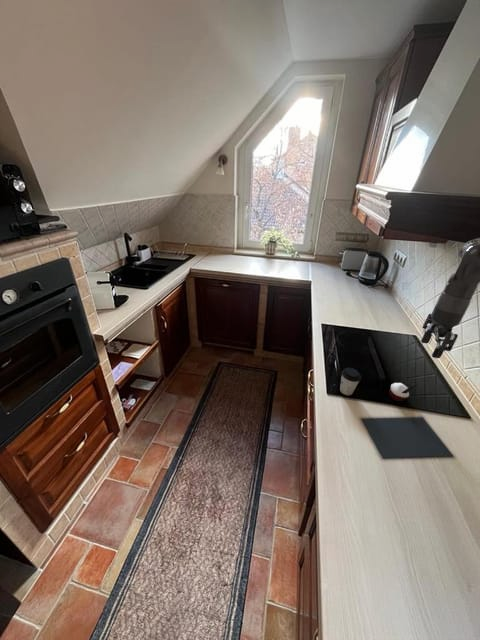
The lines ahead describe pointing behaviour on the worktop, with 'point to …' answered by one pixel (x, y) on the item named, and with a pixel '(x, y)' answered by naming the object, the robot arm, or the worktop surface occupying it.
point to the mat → (405, 438)
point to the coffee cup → (349, 381)
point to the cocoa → (400, 391)
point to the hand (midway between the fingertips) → (429, 349)
